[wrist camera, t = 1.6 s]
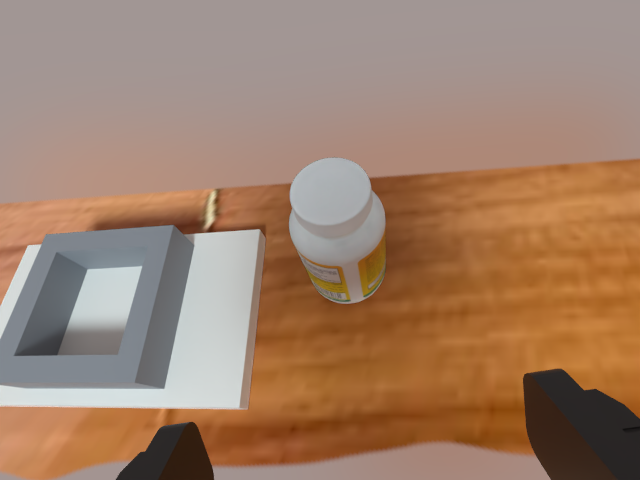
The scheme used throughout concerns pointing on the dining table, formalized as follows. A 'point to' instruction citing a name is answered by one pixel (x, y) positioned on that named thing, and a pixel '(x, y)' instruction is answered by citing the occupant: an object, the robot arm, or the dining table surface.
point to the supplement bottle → (338, 229)
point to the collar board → (133, 320)
